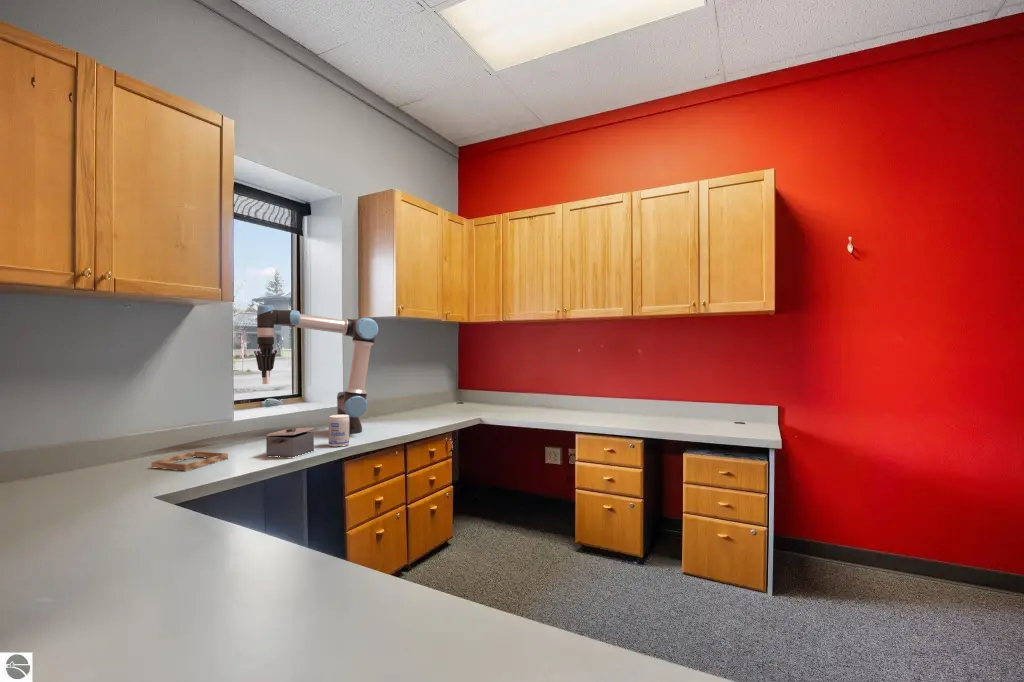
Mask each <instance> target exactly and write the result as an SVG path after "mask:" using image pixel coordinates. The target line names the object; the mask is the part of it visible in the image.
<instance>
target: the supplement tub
mask: <svg viewBox="0 0 1024 682" xmlns="http://www.w3.org/2000/svg"><path fill="white" fill-rule="evenodd" d="M328 417H329V418H328V446H329V447H331V446H334V447H333V448H336V447H335V446H342V447H344V446H343V445H347V446H349V445H350V434H349V415H337V414H333V415H329V416H328Z"/></svg>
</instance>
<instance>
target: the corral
mask: <svg viewBox="0 0 1024 682" xmlns="http://www.w3.org/2000/svg"><path fill="white" fill-rule="evenodd" d="M193 456H198V457H206V458H203V459H201V460H198V461H194V462H191V463H179V462H176V463H171V462H174V461H178V460H182V459H186V458H189V457H193ZM225 459H227V460H229V453H228V452H214V451H213V452H211V451H200V450H199V451H190V452H186V453H182V454H179V455H176V456H175V455H174V456H170V457H167V458H162V459H158V460H155V461H151V462H150V463H151V467H157V468H166V469H177V470H186V471H185V472H188V471H187V470H189V471H191V470H190V469H193V470H195V469H194V468H196V469H198V468H197V467H199V468H202V467H201V466H203V467H205V466H204V465H206V466H209V465H208V464H210V465H212V463H213V464H216V463H215V462H217V463H219V462H218V461H220V462H223V461H226V460H225ZM222 460H223V461H222ZM177 470H176V471H177Z"/></svg>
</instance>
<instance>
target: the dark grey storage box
mask: <svg viewBox="0 0 1024 682" xmlns="http://www.w3.org/2000/svg"><path fill="white" fill-rule="evenodd" d="M314 435H315V432H314V431H306V432H302V433H299V434H295V435H280V436H267V435H266V439H265V440H266V441H265V442H266V443H265V444H266V448H265V449H266V450H265V452H266V454H265V456H278V457H277V458H279V456H280V457H295V456H298V455H302V454H305V453H307V454H309V453H308V452H310V453H312V452H311V451H313V452H314V451H315V450H314V449H315V448H314V445H315V444H314V443H315V441H314V437H315V436H314ZM305 455H306V454H305ZM302 456H303V455H302Z"/></svg>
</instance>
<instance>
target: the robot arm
mask: <svg viewBox="0 0 1024 682" xmlns="http://www.w3.org/2000/svg"><path fill="white" fill-rule="evenodd" d="M275 325H276V326H281V327H291V328H300V329H308V330H315V331H321V332H330V333H337V334H342V335H343V336H344V337H345V336H346V337H351V338H352V339H351V340H352V343H353V344H354V347H353V353H352V354H353V355H352V361H351V366H350V367H351V368H350V375H349V380H348V381H349V382H348V387H347V388H346V389H345V390H344V391H338V392H337V395H336V399H337V400H336V404H337V405H336V408H337V409H336V410H337V411H336V412H337V413H336V415H349V435H353V434H357V433H362V432H363V425H362V423H361V420H360V417H362V416H363V415H364V414H365V413H366V412H367V410H368V401H367V397H368V396H367V395H368V393H367V391H366V390H365V388H366V383H367V376H368V369H369V361H370V355H371V350H372V349H371V348H372V346H373V345H374V344H375V339H376V336H377V335H378V334H379V326H378V323H377V322H376V320H374V319H373V318H369V317H362V318H353V319H351V318H345V319H338V318H333V317H325V316H324V317H323V316H319V315H318V316H317V315H310V314H304V313H303V314H302V313H300V311H299V310H293V309H291V310H288V309H283V310H282V309H281V310H280V309H275V307H274V306H273V305H267V304H266V305H262V304H261V305H259V306H257V310H256V328H257V332H256V335H257V337H256V344H257V345H258V347H257V349H256V350H254V351H253V353H254V355H255V358H256V364H257V369H258V370H259V371H260V372H261V378H262V381H261V382H262V385H269V384H270V377H271V374H270V373H271V371H273V369H274V366H275V360H276V354H277V353H278V352H277V351H278V350H275V349H274V346H273V345H274V344H275V337H274V336H275Z"/></svg>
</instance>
